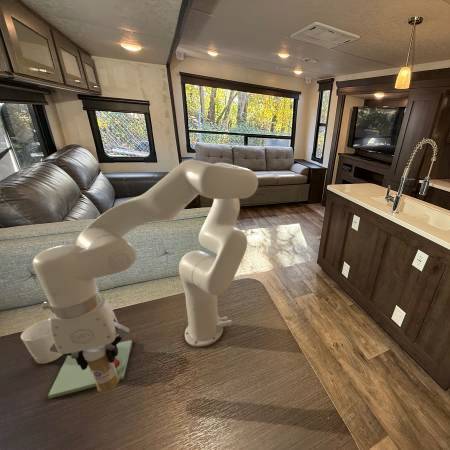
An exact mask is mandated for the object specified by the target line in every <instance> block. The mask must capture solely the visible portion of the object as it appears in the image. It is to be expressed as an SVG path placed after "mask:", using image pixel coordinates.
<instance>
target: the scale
mask: <svg viewBox="0 0 450 450" xmlns="http://www.w3.org/2000/svg"><path fill="white" fill-rule="evenodd" d="M132 345H133V340H132V339H130V340H125V341H120V342H119V343H118V344H117V348H118V355H117V356H115V358H117V361H118V366H117V368H116V372H117V375H118V376H119V381H121V380H124V379H125V374H126V370H127V366H128V362H129V357H130V353H131V350H132ZM95 387H97V385H96V383H95V381H94V379H93V376H92V374H91V370H90V368H89V366H87V368H86V369H85V370H82V369H81V367H80V365H78V364H77V361H76V359H72V358H71V356H69V355H66V358H65V360H64V362H63V364H62V365H61V368H60V370H59V371H58V375H57V376H56V378H55V380H54V383H53V385H52V386H51V389H50V390H49V392H48V395H47V397H48V399H53V398H57V397H60V396H64V395H68V394H72V393H76V392H79V391H84V390H88V389H90V388H95Z"/></svg>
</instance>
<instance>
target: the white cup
mask: <svg viewBox="0 0 450 450" xmlns="http://www.w3.org/2000/svg"><path fill="white" fill-rule="evenodd" d="M20 339H21V341H22V342H23V344H24V346H25V347H26V350H27V351H28V352H29V354H30V355H31V356H32V358H33V360H34V361H35V362H36V363H37V364H40V365H45V364H48V363H52V362H54V361H56V360H58V359H59V358H61V357H62V356H63V355H64V354H61V353H59V352H52V351H50V348H51V346H52V344H53V343H54V340H53V337H52V333H51V327H50V318H48V319H44V320H41V321H38V322H36V323H33V324H31V325H30V326H28V327H26V328H25V329H24V330H23V331H22V332H21V334H20Z"/></svg>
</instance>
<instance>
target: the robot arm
mask: <svg viewBox="0 0 450 450" xmlns="http://www.w3.org/2000/svg"><path fill="white" fill-rule="evenodd" d="M258 185H259V179H258V176H257V174H256V173H255V172H254V171H253V170H251V169H248V168H247V167H242V166H238V165H234V164H229V163H226V162H215V163H211V162H206V161H202V160H199V159H186V160H183V161H182V162H180V163H179V164H178V165H177V166H175V167H174V168H173V169H172V170H170V171H169V172H168V173H167V174H166V175H165V176H164V177H161V179H160V180H159V181H157V182H156V183H155V184H154V185H153V186H152V187H150V188H149V189H148V190H147V191H145V192H144V193H142V194H140V195H138V196H134V197H132V198H130V199H128V200H126V201H124V202H121V203H119V204H117V205H114V206H112V207H111V208H109V209H108V210H106V211H104V212H103V213H102V214H100V215H99V216H98V217H96V218H95V219H94V220H93V221H92V222H90V223H89V224H88V225H87V226H86V227H85V228H83V230H82V231H81V232H80V234H79V235H78V237H77V238H76V242H75V244H63V245H56V246H53V247H50V248H47V249H45V250H42V251H40V252H39V253H38V254H37V255H35V256H34V258H33V260H32V267H33V270H34V272H35V275H36V276H37V277H36V278H37V279H38V281H39V284H40V286H41V287H42V290H43V292H44V294H45V297H46V299H47V301H44V302H42V306H41V307H42V309H43V310H46V309H48V310H51V313H50V314H49V319H50V327H51V333H52V337H53V340H54V343H53V344H52V346H51V348H50V351H52V352H59V353H61V354H63V355H65V356H68V355H69V356H71V358H72V359H76V361H77V364H78V365H80V367H81V369H82V370H85V369H86V368H87V366H88V363H87V361H86V360H85V359H84V356H83V350H87V349H91V348H95V347H100V346H104V345H105V346H106V348H107V351H106V354H107V356H108V359H109V362H111V363H113V362H114V359H115V356H117V355H118V348H117V344H118V343H120V342H122V340H123V339H124V338H125V337H126V336H129V333H130V328H129V327H128V326H125V325H123V324H121V323H119V322H118V319H117V316H116V314H115V312H114V311H113V308H112V307H111V305H110V304H109V302H108V301H107V299H106V298H105V297H102V296H101V293H100V291H99V288H98V285H97V282H96V279H97V278H103V277H107V276H111V275H115V274H119V273H122V272H124V271H126V270H127V269H129V268H131V267H132V266H133V265H134V264H135V263H136V261H137V259H138V252H137V249H136V247H135V246H134V245H133V244H132V243H131V242H129V241H128V240H126V239H125V238H123V237H125V236H126V235H127V234H128V233H130V232H131V231H132V230H134V229H135V228H137V227H139V226H142V225H144V224H148V223H154V222H164V221H169V220H172V219H174V218H176V216H178V215H179V214H180V213H181V212H182V211H183V210H184V209H185V208H186V207H187V206H188V205H189V204H190V203H191V202H192V201H193V200H194V199H195V198H197V196H199V195H200V196H202V197H205V198H207V199H211V200H213V201H212V205H211V208H210V210H209V212H208V214H207V216H206V219H205V220H204V223H203V225H202V227H201V229H200V231H199V234H198V238H197V240H198V242H199V244H200V245H201V246H202V247H203V248H204V249H206V250H209V251H210V252H212V253H213V254H216V256H215V257H214V256H213V255H211V254H209V253H207V252H205V251H201V250H191V251H188V252H186V253H185V254H184V255H183V256H182V257H181V259H180V261H179V265H178V273H179V277H180V281H181V283H182V287H183V289H184V296H185V305H186V314H187V315H186V316H187V323H188V325H187V327H186V328H185V331H184V339H185V341H186V343H187V344H188V345H190V346H192V347H199V348H200V347H201V348H203V347H207V346H210V345H212V344H214V343H215V342H217V341H218V340H219V339H220V338H221V336H222V335H223V332H224V327H231V326H233V320H232V319H228V316H227V315H226V316H223V317H221V316H219V310H218V296H220V295H222V294H223V293H225V292H226V291H227V290H228V289H229V287H230V286H231V284H232V283H233V281H234V278H235V276H236V274H237V272H238V269H239V267H240V265H241V263H242V261H243V258H244V256H245V254H246V252H247V248H248V237H247V235H246V234H245V232H244V231H243V230H242V229H240V228H237V227H235V225H236V222H237V219H238V217H239V214H240V210H241V203H240V199H241V200H242V199H247V198H251V196H253V195H255V193H256V191H257V189H258V187H259V186H258Z"/></svg>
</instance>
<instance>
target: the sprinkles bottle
mask: <svg viewBox="0 0 450 450" xmlns="http://www.w3.org/2000/svg"><path fill="white" fill-rule="evenodd" d="M106 351H107V348H106V346H105V345H104V346H100V347H95V348H91V349H87V350H83V356H84V359H85V360H86V361H87V363H88V366H89V368H90V370H91V374H92V376H93V379H94V381H95V383H96V385H97V386H96V390H97V391H98V392H99V393H106V392H109V391H112V390H113V389H114V388H116V387H117V385H118V384H119V382H120V380H119V376H118V375H117V372H116V368H115V365H114V362H113V363H111V362H109V359H108V356H107V354H106Z"/></svg>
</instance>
